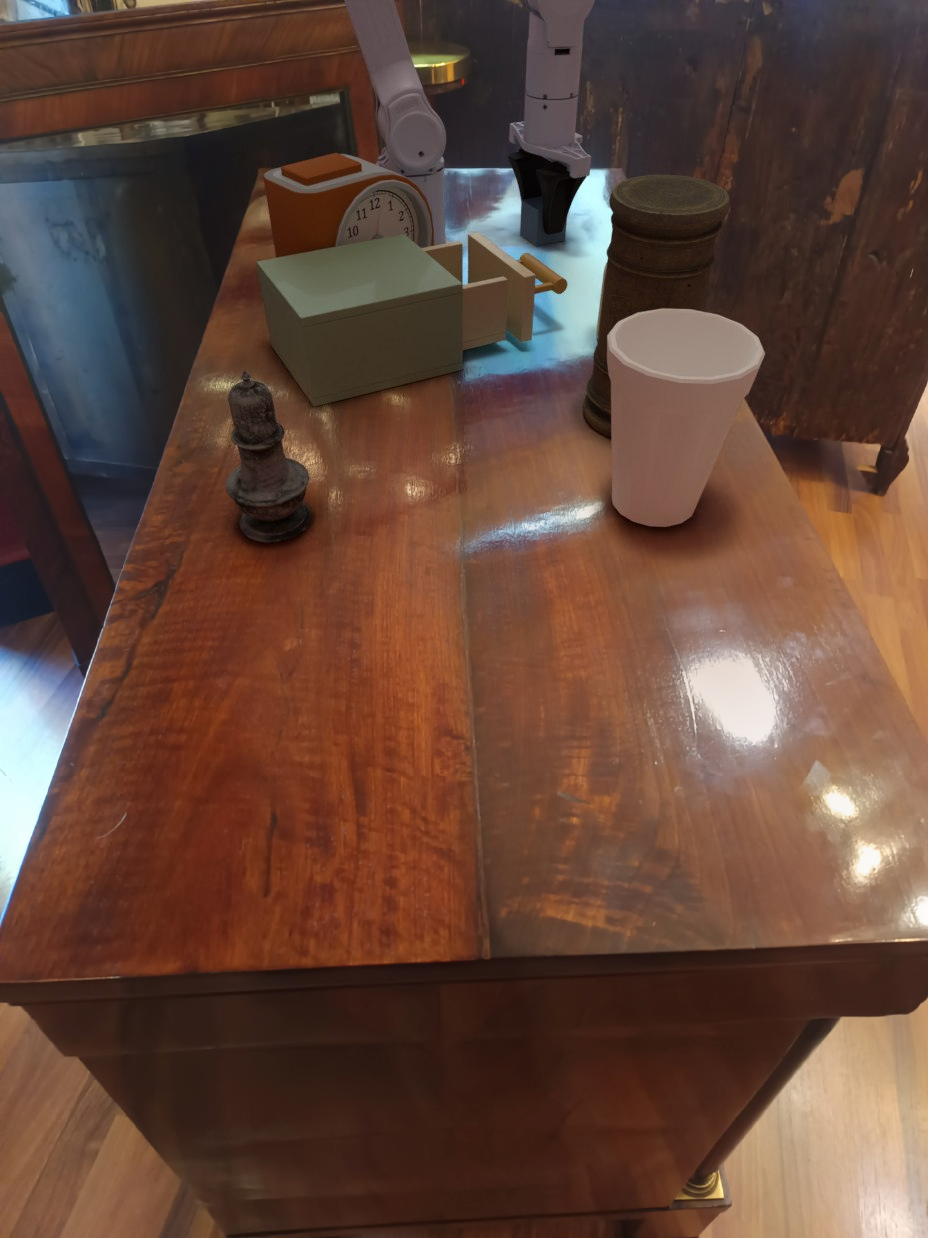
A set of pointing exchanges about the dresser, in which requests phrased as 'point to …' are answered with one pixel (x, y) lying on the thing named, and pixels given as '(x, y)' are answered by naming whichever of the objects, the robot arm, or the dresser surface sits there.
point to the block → (536, 223)
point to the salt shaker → (264, 468)
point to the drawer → (496, 289)
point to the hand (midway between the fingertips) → (543, 225)
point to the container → (653, 261)
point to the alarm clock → (342, 205)
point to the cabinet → (362, 317)
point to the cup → (673, 406)
